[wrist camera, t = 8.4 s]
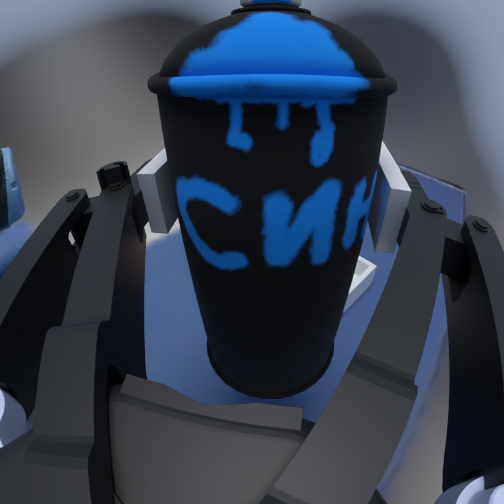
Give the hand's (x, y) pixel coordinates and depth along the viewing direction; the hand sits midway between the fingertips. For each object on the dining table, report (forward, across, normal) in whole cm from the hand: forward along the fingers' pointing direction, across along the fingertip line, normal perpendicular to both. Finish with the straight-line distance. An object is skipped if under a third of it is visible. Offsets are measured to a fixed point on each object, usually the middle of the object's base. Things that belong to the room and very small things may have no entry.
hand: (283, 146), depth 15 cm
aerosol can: (-5, 0, -11) cm, 12 cm away
